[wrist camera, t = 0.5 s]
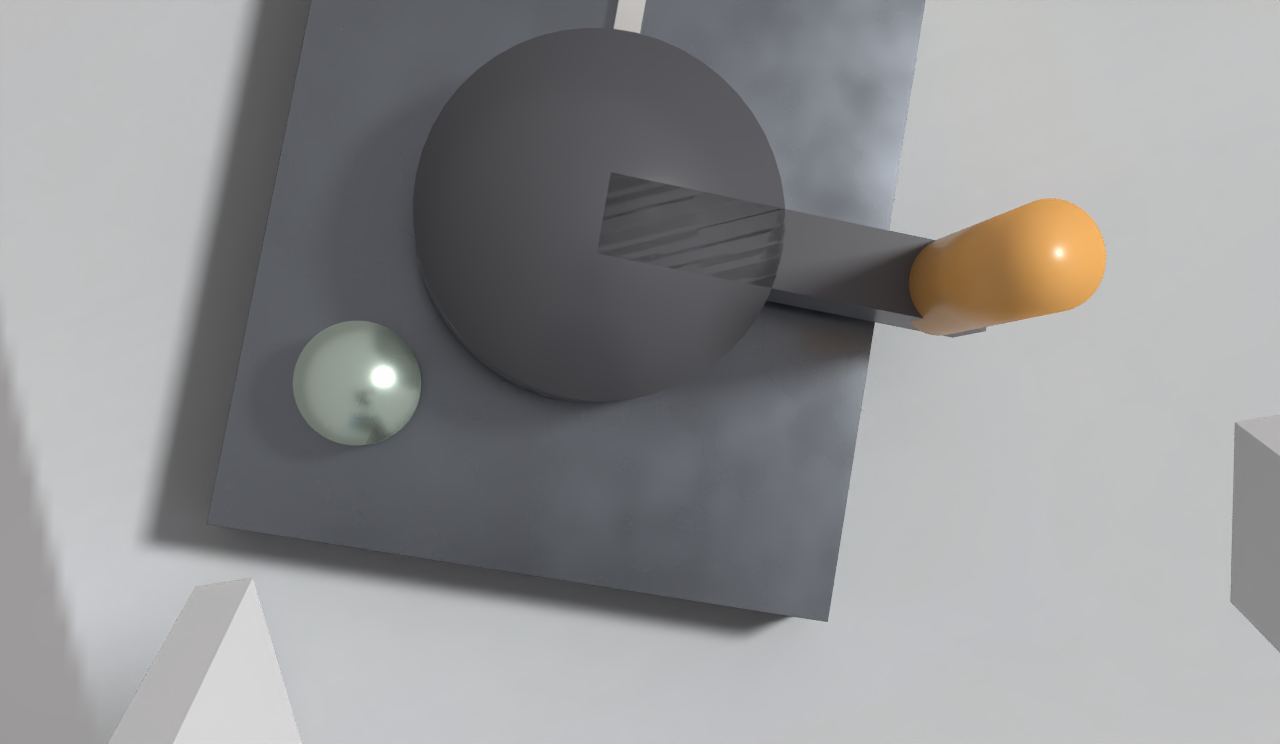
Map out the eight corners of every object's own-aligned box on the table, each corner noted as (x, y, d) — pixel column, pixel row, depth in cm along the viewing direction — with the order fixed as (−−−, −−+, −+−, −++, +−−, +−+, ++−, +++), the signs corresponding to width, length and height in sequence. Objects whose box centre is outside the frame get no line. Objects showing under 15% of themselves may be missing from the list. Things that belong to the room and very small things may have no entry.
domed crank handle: (383, 367, 30) (368, 346, 23) (449, 18, 31) (453, -102, 24) (939, 468, 33) (1075, 476, 26) (989, 140, 33) (1134, 62, 26)
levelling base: (805, 611, 34) (845, 630, 31) (220, 519, 32) (195, 528, 29) (902, -4, 36) (950, -49, 33) (350, -137, 33) (341, -201, 30)
